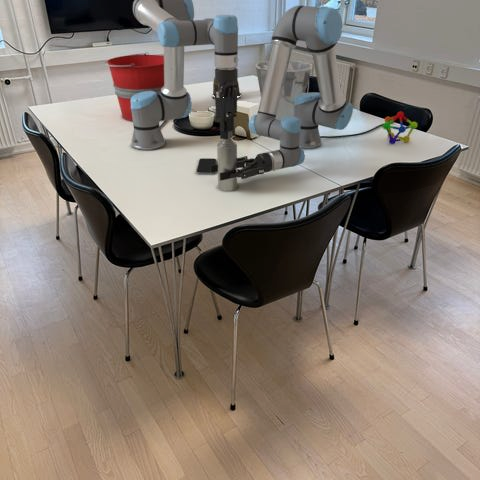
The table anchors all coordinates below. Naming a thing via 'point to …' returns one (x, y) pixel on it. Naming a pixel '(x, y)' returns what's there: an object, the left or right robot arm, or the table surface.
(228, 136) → the cap
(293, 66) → the bucket
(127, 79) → the bucket
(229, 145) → the bottle
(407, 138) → the educational toy
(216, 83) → the bell
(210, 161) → the smartphone
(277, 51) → the right robot arm
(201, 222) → the table surface
